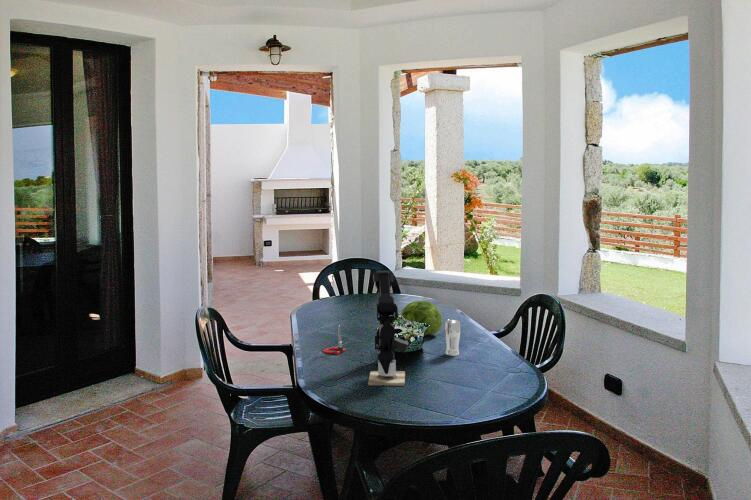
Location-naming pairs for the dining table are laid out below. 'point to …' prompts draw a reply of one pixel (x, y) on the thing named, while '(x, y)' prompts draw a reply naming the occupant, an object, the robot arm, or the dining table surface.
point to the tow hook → (336, 347)
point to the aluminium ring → (391, 369)
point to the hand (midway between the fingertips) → (387, 370)
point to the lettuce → (424, 315)
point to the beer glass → (452, 337)
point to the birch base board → (387, 379)
